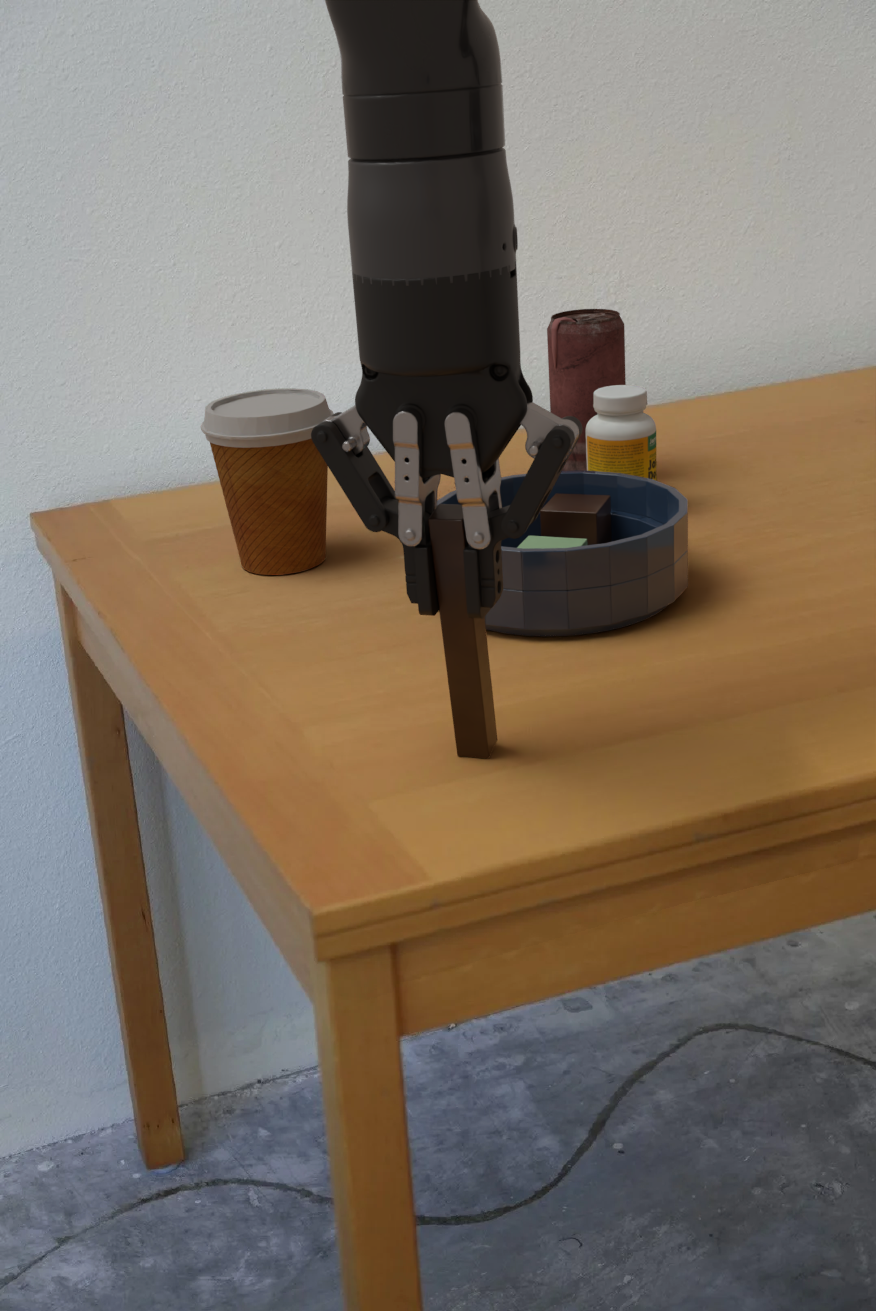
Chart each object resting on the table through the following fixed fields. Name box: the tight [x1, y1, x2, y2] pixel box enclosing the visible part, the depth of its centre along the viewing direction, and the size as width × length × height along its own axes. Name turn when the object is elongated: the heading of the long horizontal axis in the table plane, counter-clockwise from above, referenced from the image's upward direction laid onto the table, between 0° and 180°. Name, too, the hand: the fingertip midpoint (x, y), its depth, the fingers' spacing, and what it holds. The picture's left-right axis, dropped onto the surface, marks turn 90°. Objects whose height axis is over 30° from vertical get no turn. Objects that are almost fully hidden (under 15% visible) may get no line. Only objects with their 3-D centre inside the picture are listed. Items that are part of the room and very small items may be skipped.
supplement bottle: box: [586, 384, 658, 481], centre depth 113 cm, size 5×5×10 cm
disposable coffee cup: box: [200, 387, 335, 576], centre depth 107 cm, size 10×10×12 cm
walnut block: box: [540, 493, 612, 545], centre depth 103 cm, size 4×4×4 cm
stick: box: [428, 504, 498, 759], centre depth 76 cm, size 2×2×14 cm
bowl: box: [437, 471, 689, 638], centre depth 99 cm, size 17×17×6 cm
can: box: [546, 308, 627, 471], centre depth 120 cm, size 6×6×14 cm
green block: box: [517, 536, 587, 549], centre depth 95 cm, size 4×4×4 cm
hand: (456, 610), depth 74 cm, fingers closed
